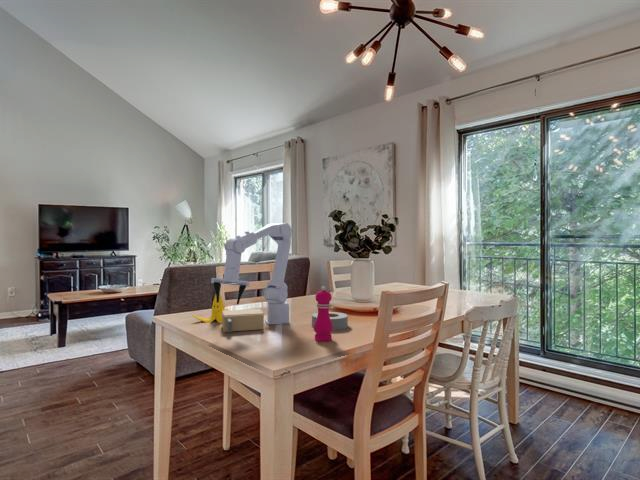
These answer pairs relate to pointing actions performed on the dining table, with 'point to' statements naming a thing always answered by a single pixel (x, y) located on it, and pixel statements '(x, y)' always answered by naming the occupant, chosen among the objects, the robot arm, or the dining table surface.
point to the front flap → (243, 322)
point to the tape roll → (335, 320)
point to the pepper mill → (323, 316)
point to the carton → (240, 313)
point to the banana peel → (215, 311)
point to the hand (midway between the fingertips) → (227, 303)
